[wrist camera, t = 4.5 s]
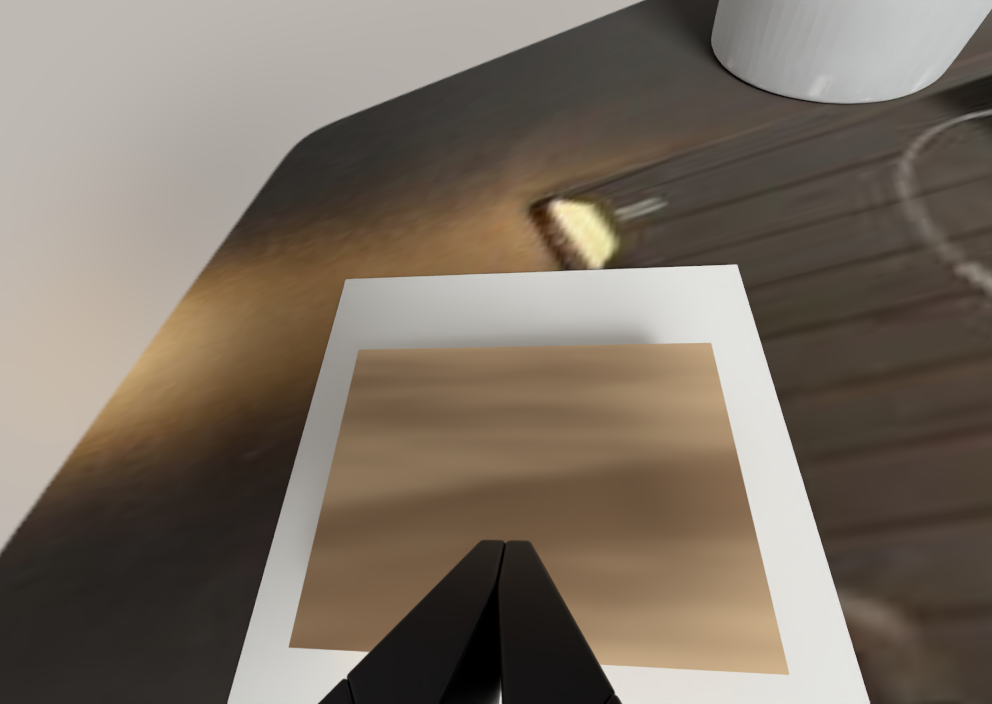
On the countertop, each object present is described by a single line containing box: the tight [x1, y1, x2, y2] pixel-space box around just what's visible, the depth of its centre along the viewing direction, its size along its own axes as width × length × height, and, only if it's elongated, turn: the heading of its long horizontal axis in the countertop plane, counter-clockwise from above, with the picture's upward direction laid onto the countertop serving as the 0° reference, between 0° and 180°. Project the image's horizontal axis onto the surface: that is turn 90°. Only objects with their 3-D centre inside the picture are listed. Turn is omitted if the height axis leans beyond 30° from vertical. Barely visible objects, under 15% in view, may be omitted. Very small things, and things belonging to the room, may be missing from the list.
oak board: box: [288, 343, 789, 675], centre depth 15 cm, size 3×12×9 cm
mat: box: [227, 265, 870, 704], centre depth 16 cm, size 24×18×1 cm
